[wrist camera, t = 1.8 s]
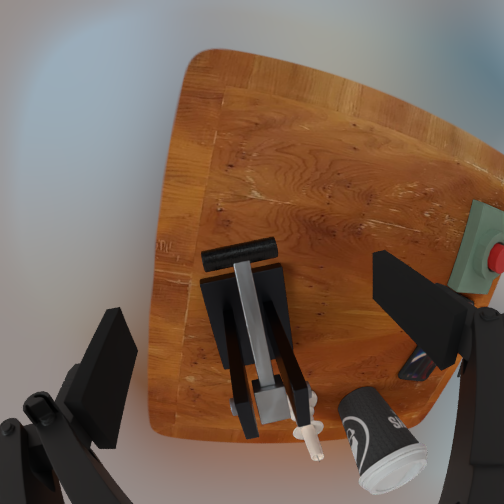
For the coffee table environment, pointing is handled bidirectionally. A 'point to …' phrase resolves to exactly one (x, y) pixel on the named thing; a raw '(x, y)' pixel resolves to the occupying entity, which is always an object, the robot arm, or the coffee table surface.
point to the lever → (254, 321)
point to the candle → (309, 431)
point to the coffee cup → (380, 442)
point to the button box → (477, 250)
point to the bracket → (238, 343)
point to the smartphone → (420, 363)
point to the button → (496, 259)
